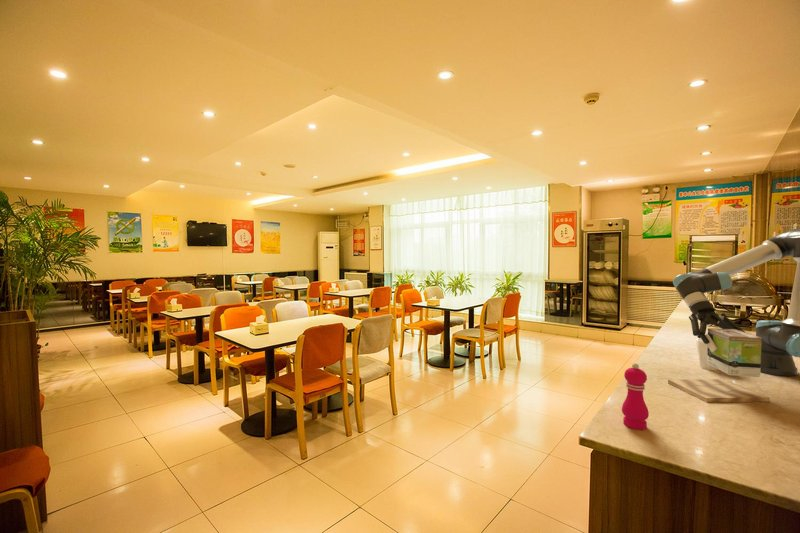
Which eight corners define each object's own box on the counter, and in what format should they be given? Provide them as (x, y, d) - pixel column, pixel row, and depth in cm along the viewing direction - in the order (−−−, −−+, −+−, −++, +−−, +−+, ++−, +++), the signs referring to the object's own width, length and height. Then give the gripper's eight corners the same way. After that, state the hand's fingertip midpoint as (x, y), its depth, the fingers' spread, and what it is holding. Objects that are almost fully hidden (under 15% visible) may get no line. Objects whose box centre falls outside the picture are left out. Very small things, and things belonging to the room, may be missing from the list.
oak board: (723, 382, 151) (723, 379, 151) (769, 401, 132) (769, 397, 132) (668, 383, 151) (668, 379, 151) (706, 402, 132) (706, 397, 132)
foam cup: (700, 369, 167) (700, 342, 167) (692, 364, 176) (693, 337, 175) (726, 372, 164) (726, 343, 163) (717, 366, 172) (717, 339, 172)
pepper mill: (616, 420, 118) (617, 360, 118) (637, 419, 119) (637, 359, 118) (632, 431, 111) (633, 367, 110) (654, 430, 112) (655, 366, 111)
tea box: (762, 377, 129) (762, 337, 129) (728, 375, 132) (728, 336, 132) (736, 364, 144) (736, 328, 143) (706, 363, 147) (706, 327, 146)
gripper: (721, 310, 157) (755, 355, 142) (666, 310, 157) (693, 355, 142) (733, 299, 151) (769, 345, 136) (676, 300, 151) (705, 345, 137)
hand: (730, 350), depth 139 cm, fingers closed on tea box, 12 cm apart
